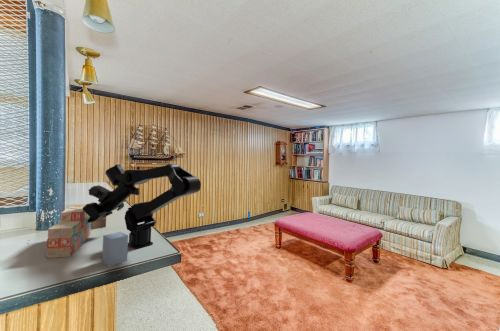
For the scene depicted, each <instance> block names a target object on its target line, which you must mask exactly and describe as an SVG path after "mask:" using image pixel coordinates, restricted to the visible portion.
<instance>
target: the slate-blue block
mask: <svg viewBox="0 0 500 331" xmlns="http://www.w3.org/2000/svg"><path fill="white" fill-rule="evenodd" d="M102 236H103V239H102V255H101V256H102V258H101V259H102V260H101V261H102V262H103V263H104V264H106V265H107V266H108V267H111V266H115V265H117V264H121V263H124V262H127V261H128V248H129V245H128V243H129V235H128V234H126V233H124V232H122V231H117V232H114V233H113V232H112V233H108V234H104V235H102Z"/></svg>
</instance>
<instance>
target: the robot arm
mask: <svg viewBox="0 0 500 331" xmlns="http://www.w3.org/2000/svg"><path fill="white" fill-rule="evenodd" d="M105 175H106V177H107V179H108V180H109V182H110V183H111V185H112V186H116V187H115V188H114V189H112V190H109V189H108V188H106V187H104V186H103V185H99V184H98V185H93V186H91V187H90V188H89V189H88V195H89V196H90V197H91V196H93V197H94V198H96V199H98V200H97V202H90V203H87V204H85V205H83V206H84V207H83V210H84V211H85V212H86V213H87V214H88V215H89V216H90V217H89V219H88V222H89V223H91V222H93V221H96V220H98V219H101V218H103V217H106V218H107V217H108V216H111V215H112V214H113V211H115V210H116V211H117V212H119V211H121V210H122V209H123V208H124V207H125V202H127V201H126V200H127V199H128V198H129V197H131V196H132V195H134V196H140V187H136V186H135V185H143V184H146V183H148V182H149V181H151V180H155V179H156V180H157V179H162V178H168V181H169V183H170V185H171V186H170V188H169V189H168V190H166V191H164V192H163V193H161V194H159V195H158V196H156V197H154V198H153V199H151V200H149V201H142V202H138V203H137V202H136V203H134V204H132V206H131V207H130V206H129V207H127V210H126V211H125V215H124V222H125V226H126V230H127V231H129V235H128V246H130V247H132V248H134V249H141V248H144V247H146V246H147V245H148V246H151V245H154V242H153V241H151V240H152V227H155V225H156V223H157V220H156V219H155V218H154V214H155V213H156V212H158V211H160V210H161V209H162V208H165V207H166V206H167V205H168V206H169V205H170V204H171V203H174V202H175V201H177V200H178V199H181V198H182V197H186V196H190V195H193V194H195V193H196V194H197V193H198V192H199V191H200V190H201V188H202V187H201V186H202V183H201V180H200V178H198V177H197V176H195V175H194V174H192V173H191V172H189V171H187V170H185V169H184V168H183V167H182V166H180V165H179V164H175V163H174V164H171V163H168V164H166V165H163V166H162V165H161V166H157V167H153V168H147V169H126V170H124V168H123V166H122V165H121V164H120V163H119V164H115V165H114V166H112V167H109V168H108V169H106V170H105ZM150 244H151V245H150Z"/></svg>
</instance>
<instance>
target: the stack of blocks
mask: <svg viewBox="0 0 500 331" xmlns="http://www.w3.org/2000/svg"><path fill="white" fill-rule="evenodd" d="M84 206H85V205H72V206H70V207H68V208H66V209H65V210H63V211H61V212H60V221H59V222H57V223H55V224H54V225H52V226H51V227H49V228H48V229H47V240H46V259H53V258H64V257H71V256H72V255H73V254H74V253H75V252H76V251H77V250H78V249H79V248H80V247H81V245H82V244H84V242H85V241H86V240H87V239H88V238H89V237H90V236H91V235H92V233H91V232H92V228H91V223H89V222H88V219H89V217H90V216H89V215H88V214H87V213H86V212H85V211H84V210H83V207H84Z"/></svg>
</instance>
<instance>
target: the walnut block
mask: <svg viewBox="0 0 500 331" xmlns="http://www.w3.org/2000/svg"><path fill="white" fill-rule="evenodd" d="M106 227H107V216H106V217H103V218H101V219H98V220H96V221H93V222H91V230H97V229H103V228H106Z"/></svg>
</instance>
